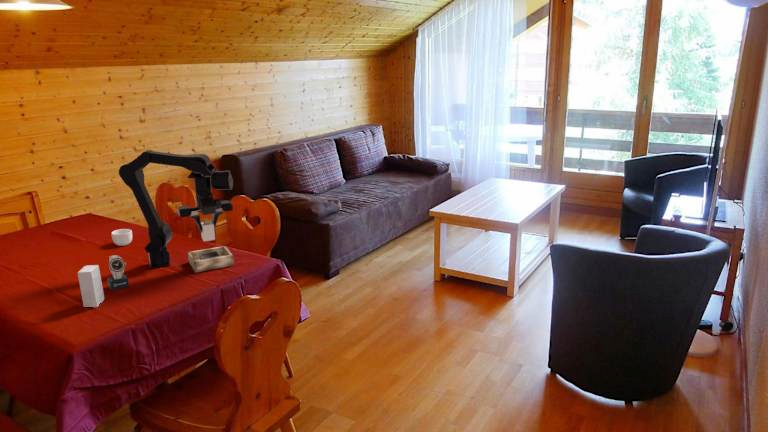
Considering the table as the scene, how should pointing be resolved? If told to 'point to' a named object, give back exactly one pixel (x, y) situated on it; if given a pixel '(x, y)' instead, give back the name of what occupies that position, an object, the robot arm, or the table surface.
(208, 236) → the connector plug
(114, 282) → the watch
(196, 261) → the socket box
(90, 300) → the skincare box
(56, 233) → the table surface
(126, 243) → the teacup
